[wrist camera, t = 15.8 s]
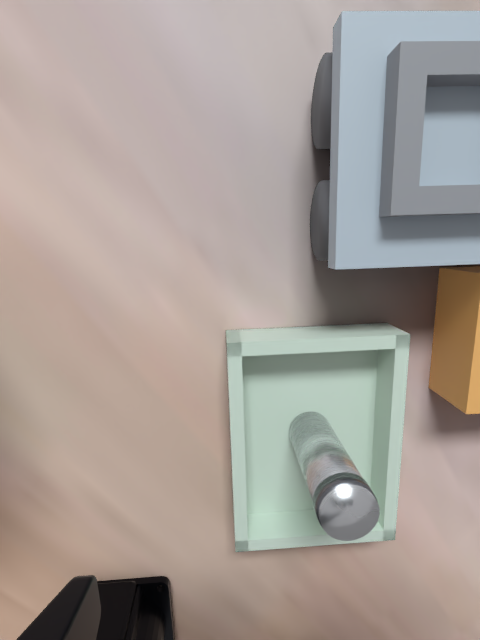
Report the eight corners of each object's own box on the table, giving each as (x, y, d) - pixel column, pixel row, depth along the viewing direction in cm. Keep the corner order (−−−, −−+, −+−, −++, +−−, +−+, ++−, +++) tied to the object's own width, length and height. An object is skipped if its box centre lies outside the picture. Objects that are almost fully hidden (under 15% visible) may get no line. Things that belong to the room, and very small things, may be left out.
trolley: (489, 255, 20) (594, 262, 14) (307, 262, 19) (343, 271, 14) (511, 68, 18) (643, -8, 12) (309, 71, 17) (352, -8, 12)
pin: (330, 449, 21) (379, 539, 15) (287, 451, 21) (318, 544, 14) (331, 409, 20) (382, 485, 14) (287, 412, 20) (319, 489, 14)
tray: (375, 507, 23) (394, 539, 20) (233, 517, 22) (235, 551, 20) (387, 322, 20) (410, 334, 18) (225, 330, 20) (226, 343, 17)
